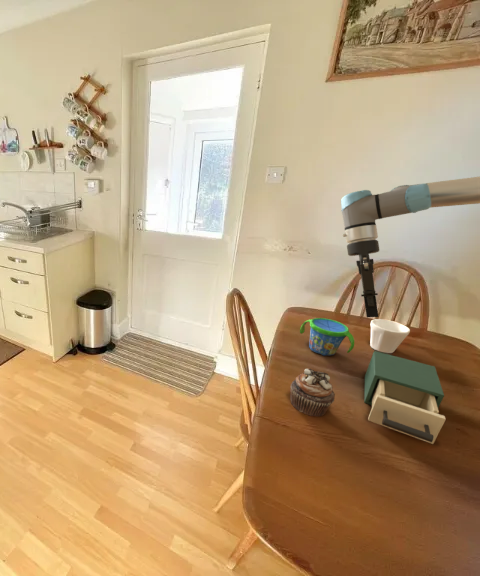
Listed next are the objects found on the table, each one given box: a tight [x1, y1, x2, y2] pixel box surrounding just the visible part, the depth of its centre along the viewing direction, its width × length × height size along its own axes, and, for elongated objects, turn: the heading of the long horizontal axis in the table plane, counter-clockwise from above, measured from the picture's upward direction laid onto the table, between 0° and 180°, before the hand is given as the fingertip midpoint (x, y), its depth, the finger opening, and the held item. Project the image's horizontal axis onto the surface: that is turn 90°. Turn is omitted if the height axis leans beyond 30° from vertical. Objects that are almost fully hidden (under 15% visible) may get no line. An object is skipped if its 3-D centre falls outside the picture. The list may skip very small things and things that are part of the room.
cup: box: [369, 318, 411, 355], centre depth 107 cm, size 10×10×9 cm
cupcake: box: [290, 368, 336, 417], centre depth 82 cm, size 10×10×10 cm
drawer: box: [367, 379, 446, 445], centre depth 76 cm, size 18×11×7 cm, turn 141°
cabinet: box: [363, 350, 445, 408], centre depth 84 cm, size 15×13×9 cm
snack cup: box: [299, 317, 355, 357], centre depth 106 cm, size 16×10×10 cm
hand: (372, 317), depth 96 cm, fingers closed
